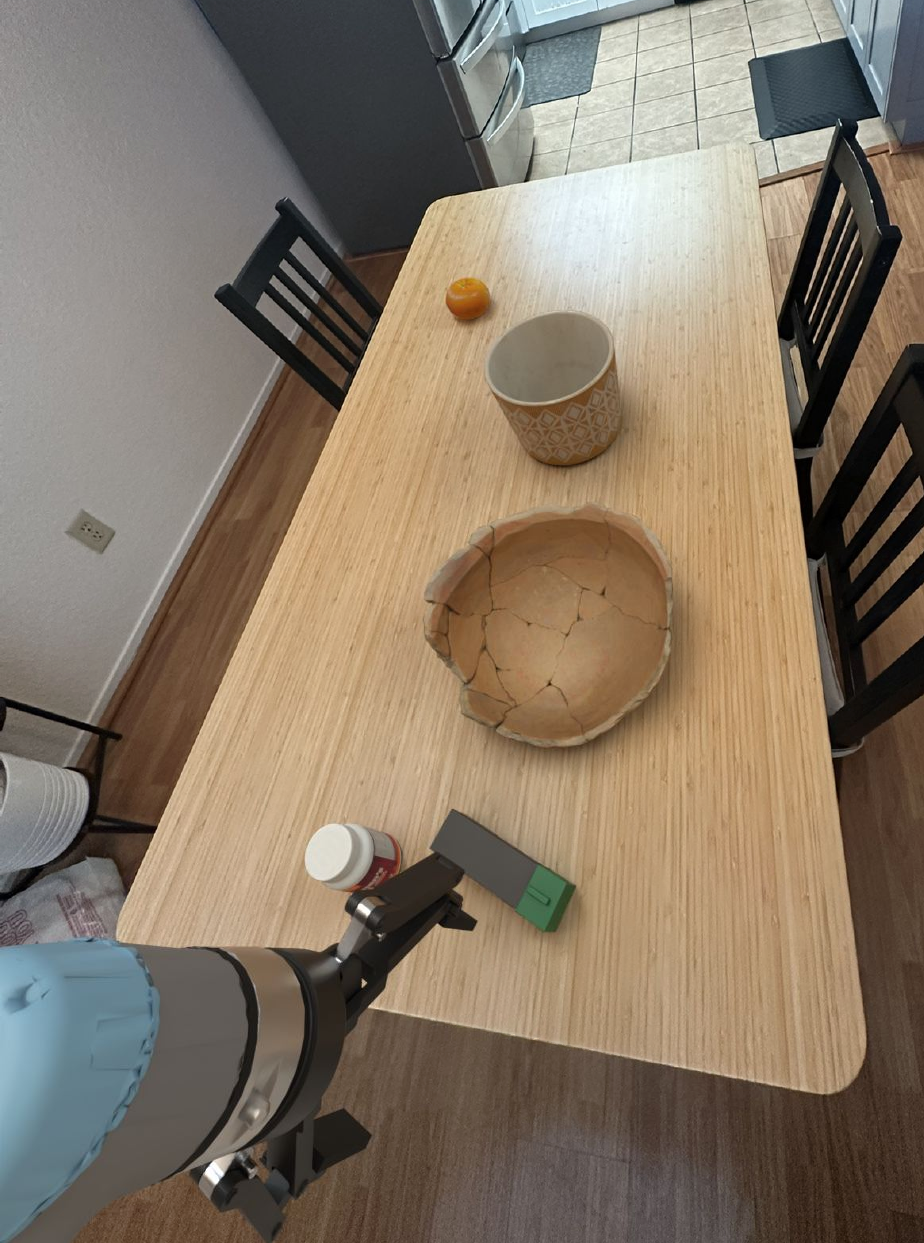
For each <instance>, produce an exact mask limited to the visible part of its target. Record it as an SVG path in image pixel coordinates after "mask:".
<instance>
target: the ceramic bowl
mask: <svg viewBox="0 0 924 1243" xmlns="http://www.w3.org/2000/svg"><path fill="white" fill-rule="evenodd" d="M467 544H468V545H467V546H466V547H462V548H460V549H458V550H456V551H455V552H454V553H453V554H452V555H451V556H450V557H449V558H448V559H447V560H446V561H445V562H443V563H442V564H441V565H440V566H439V567H438V568H436V569H435V570H434V571H433V572H432V574H431V576H430V579H429V580H428V583H427V585H426V586H425V590H424V594H423V595H424V596H423V597H424V601H425V602H426V603H429V604H431V606H430V607H429V608H427V611H426V612H425V614H424V615H423V619H422V622H423V635H424V639H425V641H426V642H427V643H428V644H429V646H430V647H431V649H432V650H434V652H435V654H436V658H437V659H440V660H441V661H442V663H443V664H444V665H445V666H446V668H448V669H450V670H451V672H452V674H454V675H455V676H457V677H458V679H459V680H460V681H461V682H462V683H463V684H462V685H461V687H460V693H459V700H458V701H459V705H460V714H461V715H462V716H463V717H465V718H466V719H470V720H472V721H474V722H475V723H477V724H479V725H481V726H483V727H487V728H491V729H494V730H495V732H496V733H497V734H499V735H501V736H503V737H505V738H507V739H510V740H512V741H516V742H521V743H524V744H527V745H533V746H537V747H540V748H546V749H551V748H555V747H556V748H562V749H566V748H570V747H576V746H581V745H583V744H587V743H588V742H590V741H592V740H594V739H596V738H597V737H599V736H601V735H604V734H605V733H607V732H608V731H610V730H611V729H612V728H613V727H614V726H615V725H617V724H618V723H619V722H620V721H621V719H622V718H624V717H625V716H626V715H627V714H629V713H631V712H633V711H634V710H635V709H636V708H638V707H639V706H640V705H641V704H643V702H644V701H645V700H646V699H647V698H648V697H650V695H651V694H652V692H653V691H654V689H655V687H656V685H657V684H658V683H659V682H660V680H661V679H662V676H663V675H664V672H665V670H666V667H667V665H668V662H669V660H670V657H671V651H672V643H673V632H674V623H675V599H674V585H673V577H672V576H673V567H672V565H671V563H670V560H669V559H668V556H667V554H666V552H665V550H664V547H663V545H662V543H661V542H660V540H659V538H658V537H657V535H656V533H655V532H653V531H652V530H651V529H650V528H649V527H648V526H647V525H646V524H645V522H644V521H643V519H641V518H640V517H638V516H636V515H632V514H629V513H627V512H622V511H619V510H616V509H613V508H610V507H607V506H606V505H605V504H603V503H601V502H597V501H588V502H586V503H583V504H582V505H577V506H562V505H558V504H556V503H551V504H549V503H547V504H542V505H537V506H534V507H532V508H530V509H527V510H523V511H520V512H516V513H514V514H510V515H509V516H507V517H504V518H499V519H496V520H494V521H492V522H490V524H486V525H483V526H478V528H477V529H476V530H474V532H473V533H471V535H470V538H469V540H468V542H467Z"/></svg>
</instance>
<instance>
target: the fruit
mask: <svg viewBox="0 0 924 1243" xmlns="http://www.w3.org/2000/svg"><path fill="white" fill-rule="evenodd" d="M490 303H491V295H490V291H489V288H488V286H487V285H486V284H485V283H484V282H483V281H482V280H481V279H479V278H476V277H463V278H460V279H457V280H456V281H454V282H453V283H451V284H450V286H449V287H448V288H447V290H446V294H445V305H446V308H448V310H449V312H450V313H451V314H452V315H453V316H455V317H457V318H458V319H461V320H468V321H469V320H470V321H471V320H474V319H477V318H479V317H481V316H482V315H484V314H485V312H486V311H487V310H488V308H489V306H490Z"/></svg>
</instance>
